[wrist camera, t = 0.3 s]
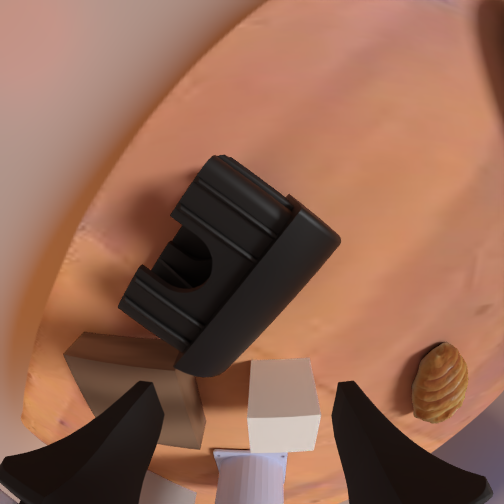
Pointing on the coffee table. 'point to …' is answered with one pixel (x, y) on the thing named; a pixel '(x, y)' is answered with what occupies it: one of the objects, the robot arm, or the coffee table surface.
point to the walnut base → (138, 369)
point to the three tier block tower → (164, 491)
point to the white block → (282, 406)
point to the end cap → (227, 267)
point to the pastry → (439, 384)
